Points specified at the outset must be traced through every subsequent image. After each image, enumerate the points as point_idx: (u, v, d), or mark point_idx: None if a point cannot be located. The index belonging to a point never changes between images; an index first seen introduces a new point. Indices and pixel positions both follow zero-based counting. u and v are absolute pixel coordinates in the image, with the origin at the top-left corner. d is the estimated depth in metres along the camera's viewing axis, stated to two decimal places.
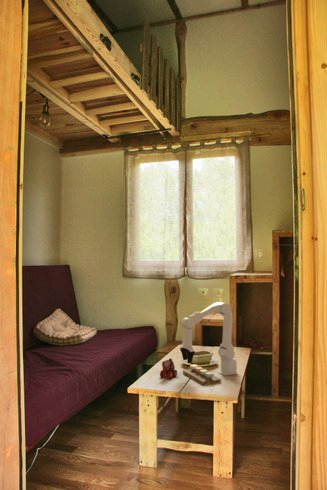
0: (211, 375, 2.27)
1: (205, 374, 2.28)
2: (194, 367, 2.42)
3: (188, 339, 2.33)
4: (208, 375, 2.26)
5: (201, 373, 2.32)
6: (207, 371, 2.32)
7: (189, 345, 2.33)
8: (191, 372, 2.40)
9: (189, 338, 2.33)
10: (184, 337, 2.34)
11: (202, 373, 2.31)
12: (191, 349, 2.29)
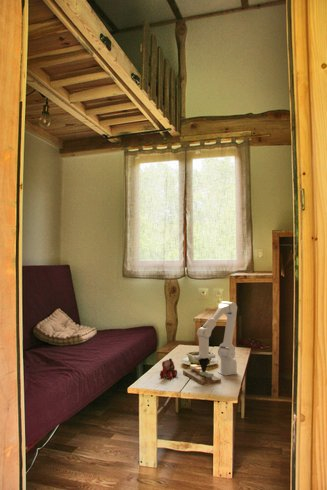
0: (211, 375, 2.27)
1: (205, 374, 2.28)
2: (194, 367, 2.42)
3: (199, 348, 2.33)
4: (208, 375, 2.26)
5: (201, 374, 2.32)
6: None
7: (199, 354, 2.33)
8: (191, 372, 2.40)
9: (207, 348, 2.32)
10: (202, 347, 2.32)
11: (202, 374, 2.31)
12: (192, 357, 2.31)
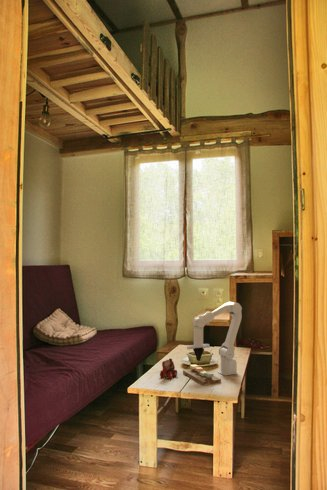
0: (211, 375, 2.27)
1: (205, 374, 2.28)
2: (194, 367, 2.42)
3: (194, 338, 2.39)
4: (208, 375, 2.26)
5: (201, 375, 2.32)
6: None
7: (194, 344, 2.39)
8: (191, 372, 2.40)
9: (200, 337, 2.38)
10: (195, 336, 2.38)
11: (202, 375, 2.31)
12: (187, 347, 2.37)
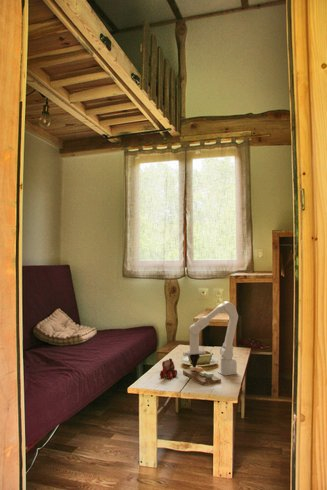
0: (211, 375, 2.27)
1: (205, 374, 2.28)
2: (194, 368, 2.42)
3: (190, 344, 2.44)
4: (208, 375, 2.26)
5: (201, 375, 2.32)
6: None
7: (190, 350, 2.44)
8: (191, 372, 2.40)
9: (195, 344, 2.42)
10: (190, 343, 2.44)
11: (202, 375, 2.31)
12: (183, 353, 2.42)
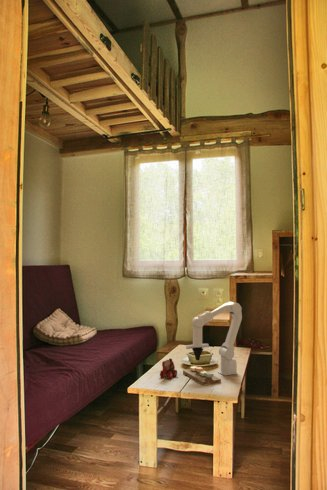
0: (211, 375, 2.27)
1: (205, 374, 2.28)
2: (194, 369, 2.42)
3: (193, 337, 2.41)
4: (208, 375, 2.26)
5: (201, 375, 2.32)
6: None
7: (193, 344, 2.40)
8: (191, 372, 2.40)
9: (199, 337, 2.39)
10: (194, 336, 2.40)
11: (202, 375, 2.31)
12: (186, 346, 2.39)
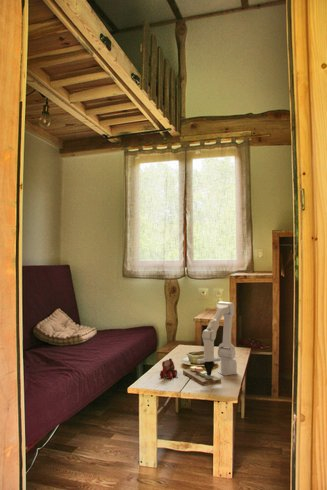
0: (211, 377, 2.27)
1: (205, 376, 2.28)
2: (194, 369, 2.42)
3: (204, 351, 2.28)
4: (208, 377, 2.26)
5: (201, 375, 2.32)
6: None
7: (204, 358, 2.27)
8: (191, 372, 2.40)
9: (213, 350, 2.27)
10: (208, 350, 2.26)
11: (202, 375, 2.31)
12: (197, 360, 2.26)
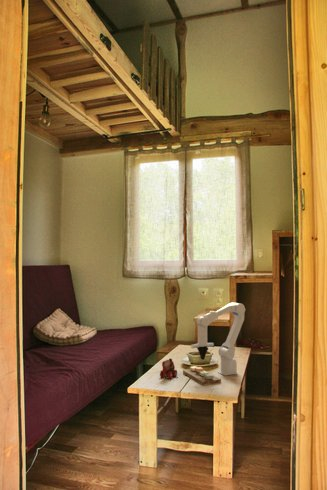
0: (211, 377, 2.27)
1: (205, 376, 2.28)
2: (194, 369, 2.42)
3: (198, 337, 2.40)
4: (208, 377, 2.26)
5: (201, 375, 2.32)
6: (207, 373, 2.32)
7: (198, 343, 2.39)
8: (191, 372, 2.40)
9: (204, 336, 2.38)
10: (199, 335, 2.38)
11: (202, 375, 2.31)
12: (191, 345, 2.37)
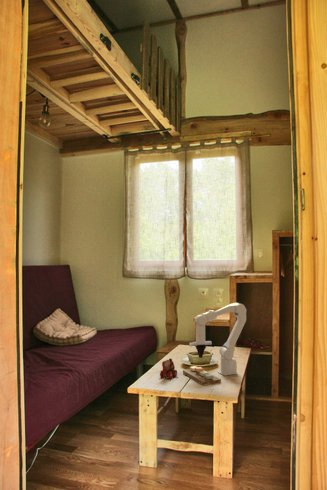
0: (211, 377, 2.27)
1: (205, 376, 2.28)
2: (194, 369, 2.42)
3: (196, 335, 2.43)
4: (208, 377, 2.26)
5: (201, 375, 2.32)
6: (207, 373, 2.32)
7: (196, 341, 2.43)
8: (191, 372, 2.40)
9: (201, 335, 2.41)
10: (197, 333, 2.43)
11: (202, 375, 2.31)
12: (189, 344, 2.41)
